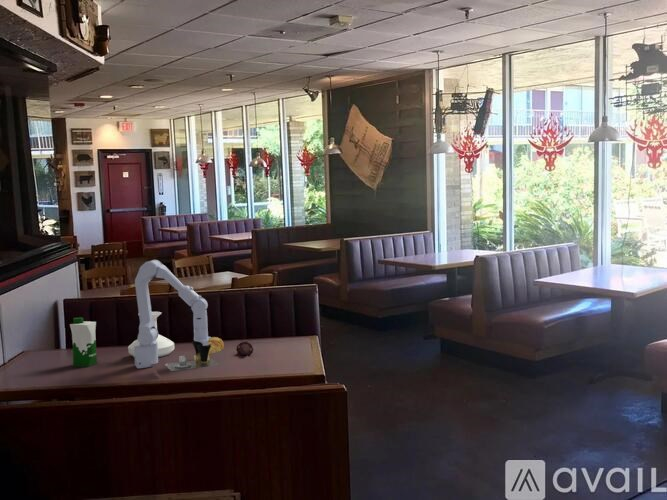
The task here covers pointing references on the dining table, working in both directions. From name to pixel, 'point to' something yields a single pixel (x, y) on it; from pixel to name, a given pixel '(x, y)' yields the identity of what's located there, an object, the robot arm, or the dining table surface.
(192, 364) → the block
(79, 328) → the milk carton
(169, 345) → the candle holder
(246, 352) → the icecream
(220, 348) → the croissant
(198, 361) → the ring
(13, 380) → the dining table surface
